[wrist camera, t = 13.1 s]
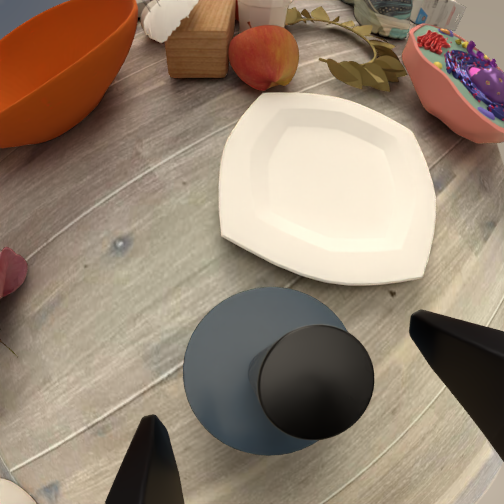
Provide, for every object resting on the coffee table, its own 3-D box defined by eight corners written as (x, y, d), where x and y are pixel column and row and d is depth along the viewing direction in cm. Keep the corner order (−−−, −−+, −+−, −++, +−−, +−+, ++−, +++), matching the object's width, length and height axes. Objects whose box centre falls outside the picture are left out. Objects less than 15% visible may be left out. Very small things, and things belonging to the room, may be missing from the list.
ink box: (399, 12, 44) (441, 21, 46) (414, 24, 42) (455, 32, 44) (410, -18, 36) (452, -5, 38) (427, -8, 34) (467, 6, 37)
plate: (417, 135, 29) (424, 124, 27) (427, 308, 22) (440, 303, 20) (247, 93, 30) (248, 79, 28) (193, 262, 23) (189, 253, 21)
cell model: (458, 74, 35) (485, 26, 24) (514, 177, 29) (563, 131, 18) (370, 55, 35) (390, -8, 24) (423, 168, 28) (476, 99, 18)
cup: (269, 69, 32) (277, -11, 21) (224, 53, 33) (222, -22, 23) (295, 48, 34) (306, -22, 23) (253, 34, 35) (256, -33, 25)
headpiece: (272, -5, 33) (356, 0, 36) (269, 17, 37) (351, 18, 39) (347, 74, 27) (440, 77, 29) (337, 101, 30) (427, 98, 33)
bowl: (81, 204, 25) (26, 134, 15) (-40, 173, 26) (-79, 132, 17) (184, 46, 33) (177, -17, 24) (53, 52, 35) (35, 8, 26)
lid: (346, 447, 15) (461, 517, 4) (182, 444, 15) (106, 535, 4) (351, 294, 18) (462, 207, 8) (193, 286, 18) (136, 178, 8)
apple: (315, 86, 30) (296, 29, 29) (296, 63, 23) (274, 0, 22) (255, 104, 33) (241, 49, 32) (224, 89, 27) (209, 27, 26)
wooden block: (228, 30, 24) (239, -20, 32) (161, 31, 24) (194, -20, 32) (227, 80, 30) (237, 15, 38) (167, 80, 30) (195, 14, 38)
